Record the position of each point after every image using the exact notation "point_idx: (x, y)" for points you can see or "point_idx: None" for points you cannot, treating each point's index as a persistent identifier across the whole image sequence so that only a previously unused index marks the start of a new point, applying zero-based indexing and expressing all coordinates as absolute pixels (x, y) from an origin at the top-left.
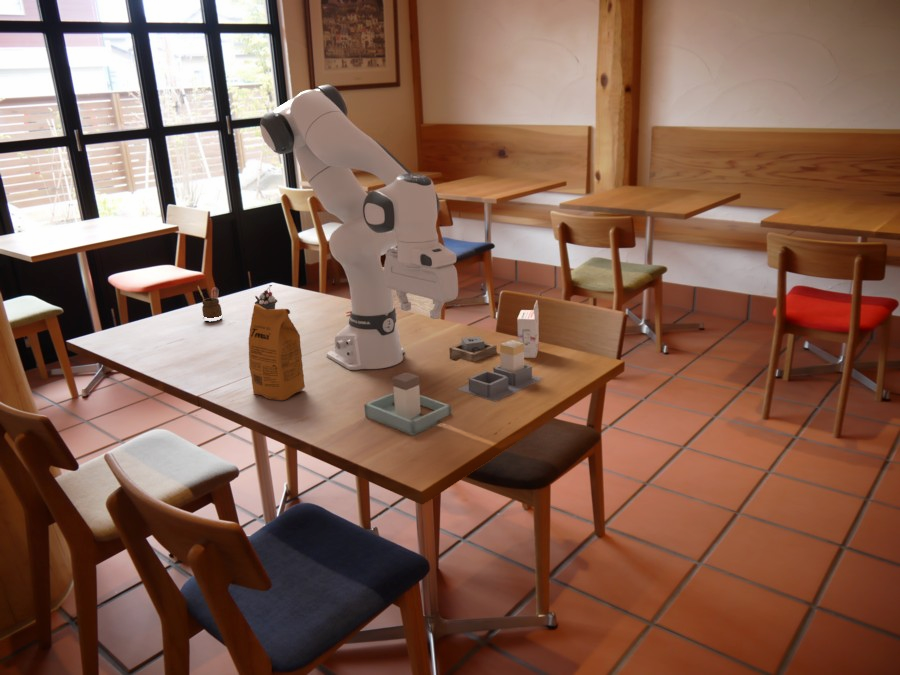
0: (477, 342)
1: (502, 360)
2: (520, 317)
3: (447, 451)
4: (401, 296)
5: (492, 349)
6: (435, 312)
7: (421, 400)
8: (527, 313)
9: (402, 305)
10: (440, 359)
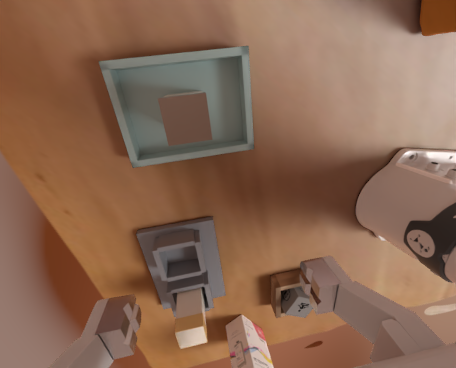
0: (290, 307)
1: (198, 301)
2: None
3: (5, 70)
4: (376, 318)
5: (275, 309)
6: (83, 335)
7: (199, 149)
8: None
9: (331, 273)
10: (319, 256)
